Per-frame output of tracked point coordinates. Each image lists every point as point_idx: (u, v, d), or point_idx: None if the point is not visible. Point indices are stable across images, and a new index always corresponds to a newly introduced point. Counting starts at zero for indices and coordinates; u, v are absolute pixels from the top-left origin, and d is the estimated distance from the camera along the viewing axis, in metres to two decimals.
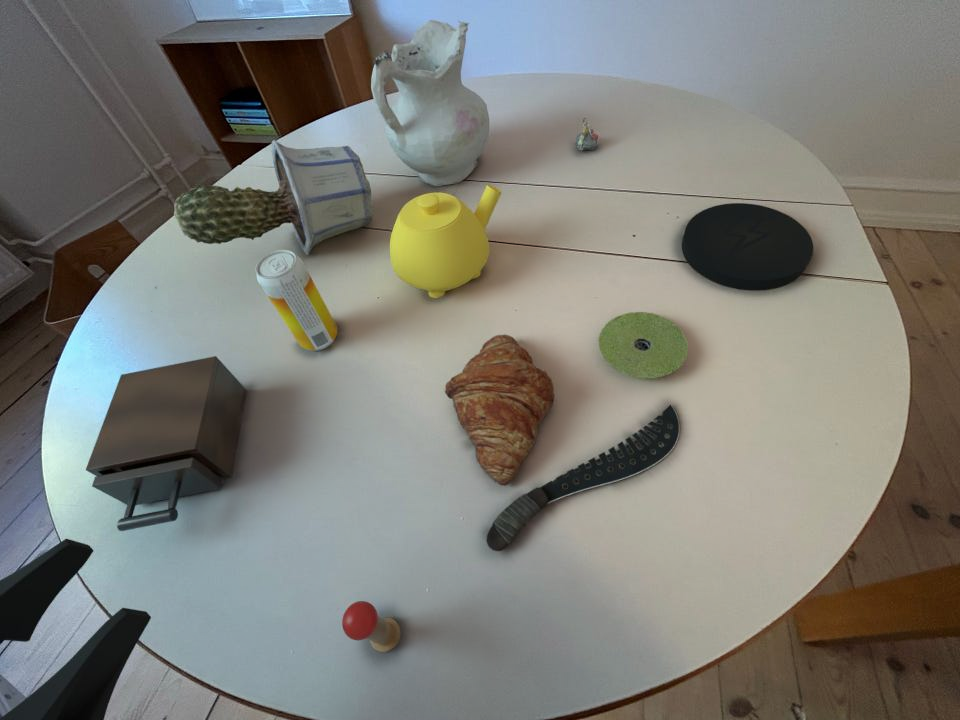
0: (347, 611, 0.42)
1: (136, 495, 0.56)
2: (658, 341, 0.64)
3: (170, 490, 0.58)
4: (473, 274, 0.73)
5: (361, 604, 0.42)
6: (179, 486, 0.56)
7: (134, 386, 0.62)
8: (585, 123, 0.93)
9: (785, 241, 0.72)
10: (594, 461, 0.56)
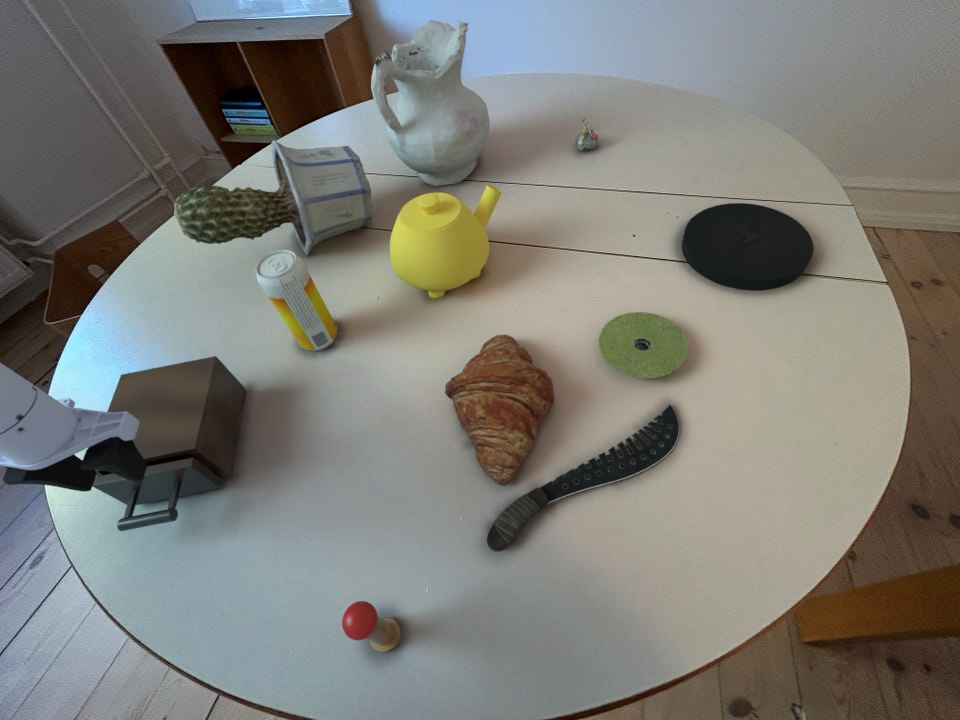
0: (347, 611, 0.42)
1: (136, 495, 0.56)
2: (658, 341, 0.64)
3: (170, 490, 0.58)
4: (473, 274, 0.73)
5: (361, 604, 0.42)
6: (179, 486, 0.56)
7: (134, 386, 0.62)
8: (585, 123, 0.93)
9: (785, 241, 0.72)
10: (594, 461, 0.56)
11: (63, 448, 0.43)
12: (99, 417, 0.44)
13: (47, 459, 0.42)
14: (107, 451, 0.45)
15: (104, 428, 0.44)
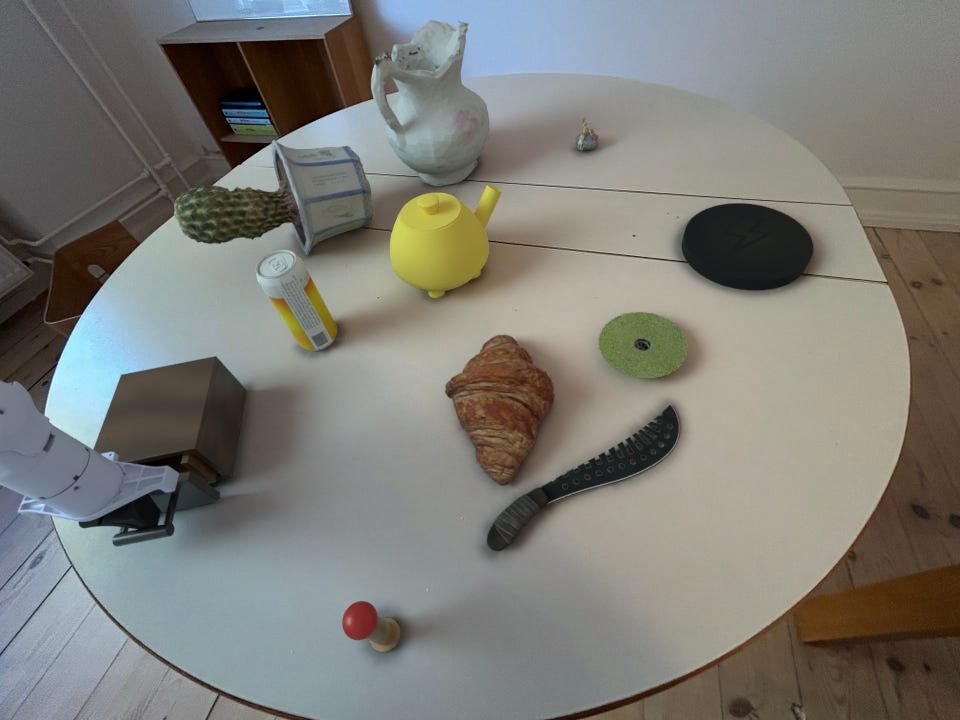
0: (347, 611, 0.42)
1: None
2: (658, 341, 0.64)
3: (167, 504, 0.57)
4: (473, 274, 0.73)
5: (361, 604, 0.42)
6: (175, 500, 0.55)
7: (134, 386, 0.62)
8: (585, 123, 0.93)
9: (785, 241, 0.72)
10: (594, 461, 0.56)
11: (112, 501, 0.47)
12: (143, 471, 0.49)
13: (97, 512, 0.46)
14: (126, 506, 0.49)
15: (148, 482, 0.48)
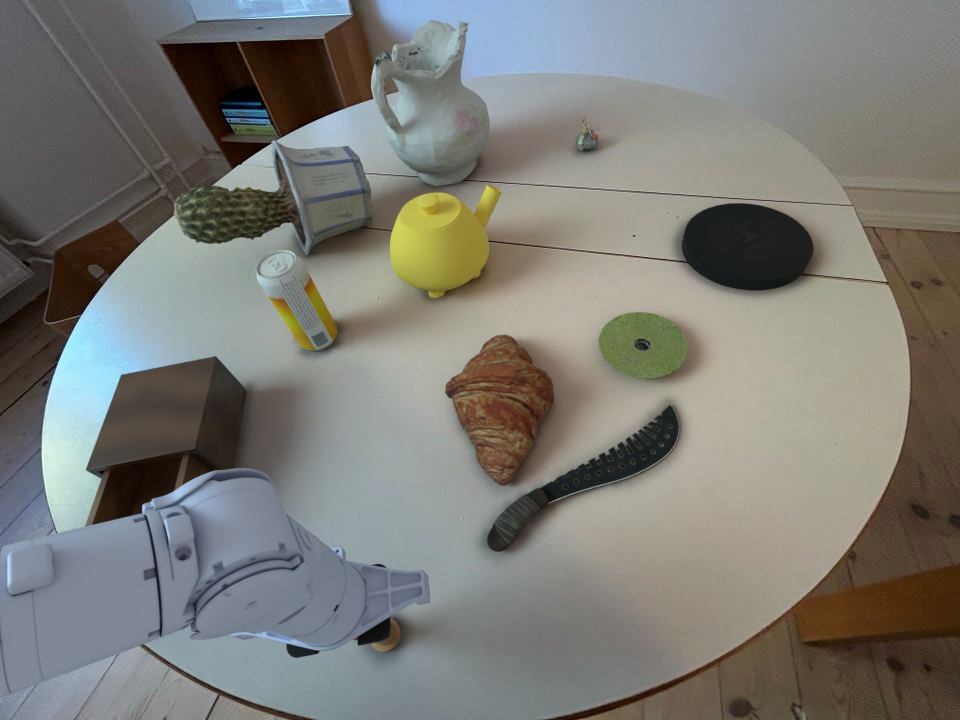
0: None
1: None
2: (658, 341, 0.64)
3: None
4: (473, 274, 0.73)
5: None
6: None
7: (134, 386, 0.62)
8: (585, 123, 0.93)
9: (785, 241, 0.72)
10: (594, 461, 0.56)
11: (361, 623, 0.35)
12: (390, 577, 0.37)
13: (344, 638, 0.34)
14: (385, 620, 0.37)
15: (400, 593, 0.36)
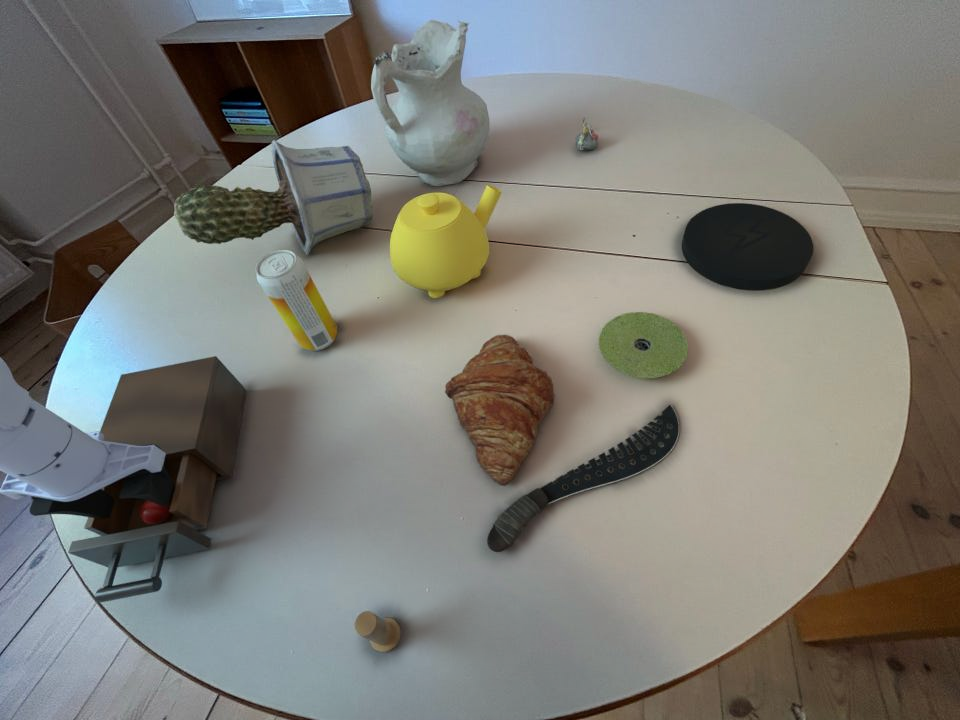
0: (144, 503, 0.55)
1: (117, 560, 0.52)
2: (658, 341, 0.64)
3: (154, 553, 0.54)
4: (473, 274, 0.73)
5: None
6: (163, 550, 0.52)
7: (134, 386, 0.62)
8: (585, 123, 0.93)
9: (785, 241, 0.72)
10: (594, 461, 0.56)
11: (95, 481, 0.45)
12: (128, 450, 0.47)
13: (80, 491, 0.45)
14: (143, 480, 0.47)
15: (133, 461, 0.47)
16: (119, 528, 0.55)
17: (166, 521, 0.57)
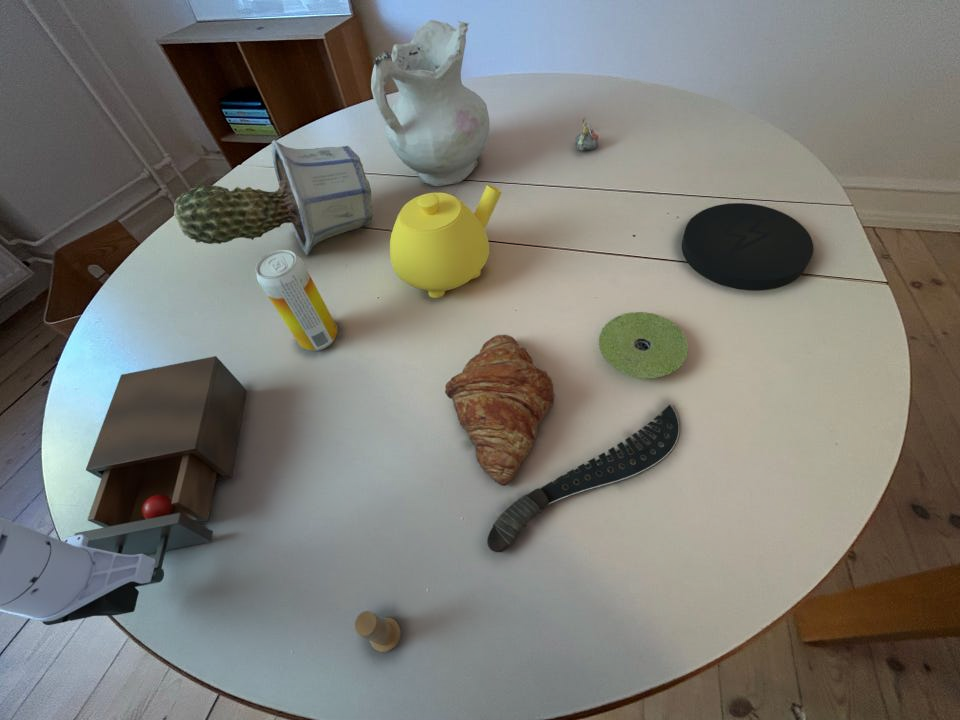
0: (144, 503, 0.55)
1: (119, 552, 0.52)
2: (658, 341, 0.64)
3: (156, 545, 0.54)
4: (473, 274, 0.73)
5: (156, 498, 0.55)
6: (165, 542, 0.52)
7: (134, 386, 0.62)
8: (585, 123, 0.93)
9: (785, 241, 0.72)
10: (594, 462, 0.56)
11: (78, 598, 0.41)
12: (114, 560, 0.43)
13: (61, 611, 0.41)
14: (95, 600, 0.43)
15: (119, 573, 0.43)
16: (121, 520, 0.56)
17: None
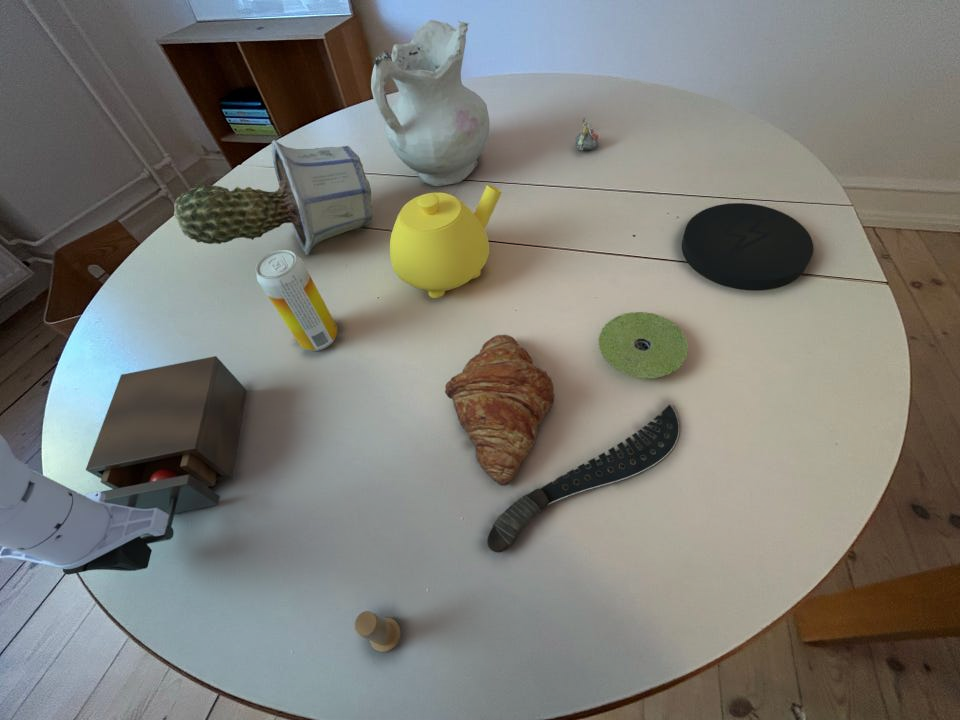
0: None
1: None
2: (658, 341, 0.64)
3: (166, 507, 0.57)
4: (473, 274, 0.73)
5: (161, 478, 0.57)
6: (174, 503, 0.55)
7: (134, 386, 0.62)
8: (585, 123, 0.93)
9: (785, 241, 0.72)
10: (594, 462, 0.56)
11: (97, 547, 0.44)
12: (130, 514, 0.46)
13: (82, 559, 0.44)
14: (113, 551, 0.46)
15: (135, 525, 0.45)
16: (132, 485, 0.59)
17: None
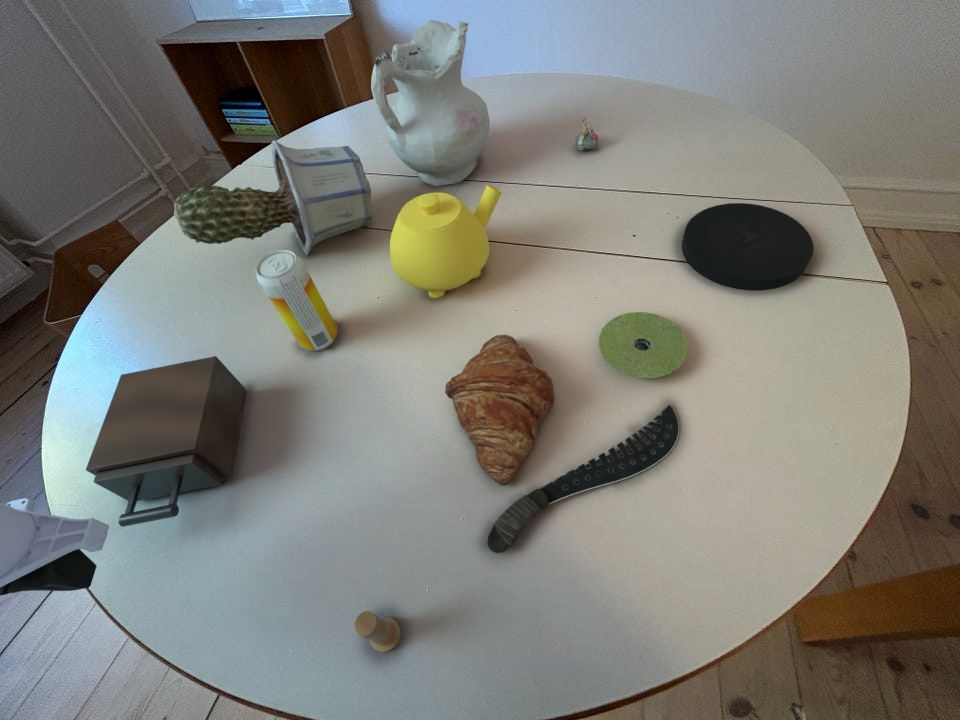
0: None
1: (137, 491, 0.57)
2: (658, 341, 0.64)
3: (171, 486, 0.58)
4: (473, 274, 0.73)
5: None
6: (180, 482, 0.57)
7: (134, 386, 0.62)
8: (585, 123, 0.93)
9: (785, 241, 0.72)
10: (594, 462, 0.56)
11: (17, 566, 0.37)
12: (61, 525, 0.38)
13: None
14: (40, 570, 0.38)
15: (66, 539, 0.38)
16: None
17: None
